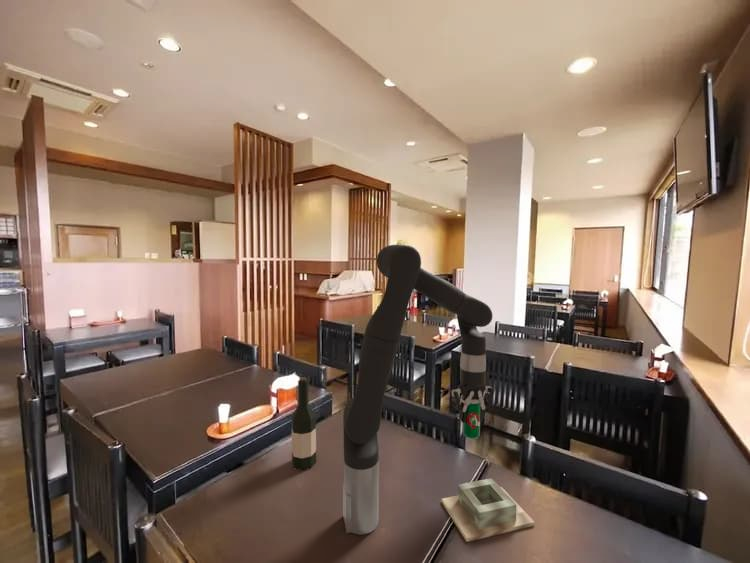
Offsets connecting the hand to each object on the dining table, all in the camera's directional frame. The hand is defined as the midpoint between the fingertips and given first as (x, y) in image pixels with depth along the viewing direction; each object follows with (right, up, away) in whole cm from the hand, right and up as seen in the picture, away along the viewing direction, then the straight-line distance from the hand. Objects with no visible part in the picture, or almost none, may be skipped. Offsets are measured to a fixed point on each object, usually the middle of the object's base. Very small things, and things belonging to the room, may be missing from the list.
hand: (471, 421), depth 100 cm
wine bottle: (-54, -20, +13) cm, 60 cm away
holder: (+1, -21, -10) cm, 24 cm away
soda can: (0, -5, 0) cm, 5 cm away
